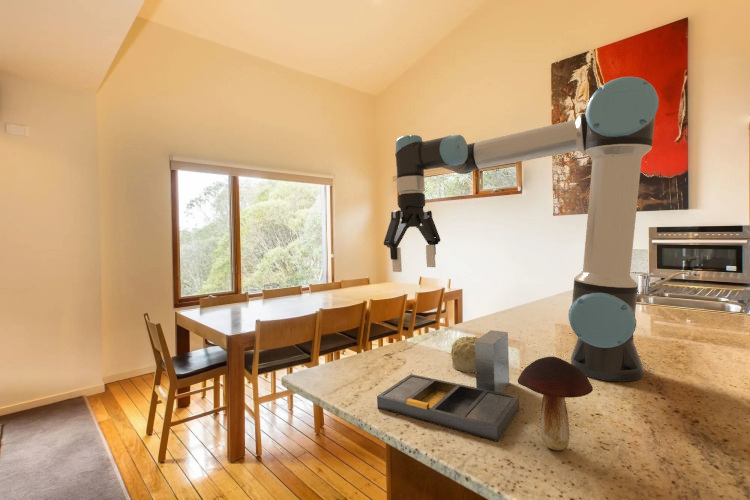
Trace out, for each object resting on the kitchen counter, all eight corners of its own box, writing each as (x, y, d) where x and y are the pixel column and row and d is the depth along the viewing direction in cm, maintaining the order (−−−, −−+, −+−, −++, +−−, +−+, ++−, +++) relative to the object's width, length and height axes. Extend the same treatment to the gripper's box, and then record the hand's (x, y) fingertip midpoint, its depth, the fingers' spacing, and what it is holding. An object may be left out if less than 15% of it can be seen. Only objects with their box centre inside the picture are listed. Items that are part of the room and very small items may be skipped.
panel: (509, 382, 88) (507, 332, 88) (495, 399, 80) (493, 343, 79) (492, 379, 90) (490, 330, 90) (476, 395, 82) (474, 341, 81)
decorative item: (475, 387, 95) (498, 357, 94) (442, 364, 96) (465, 333, 95) (472, 374, 104) (494, 346, 103) (443, 352, 106) (464, 324, 104)
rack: (519, 408, 75) (518, 392, 75) (496, 442, 64) (496, 423, 63) (411, 384, 89) (410, 370, 89) (377, 408, 78) (376, 392, 78)
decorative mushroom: (508, 433, 66) (506, 349, 65) (568, 428, 67) (566, 345, 66) (541, 472, 55) (538, 372, 55) (611, 465, 56) (610, 366, 55)
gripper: (431, 196, 115) (434, 265, 116) (367, 193, 100) (372, 273, 100) (450, 193, 110) (453, 265, 110) (386, 189, 94) (391, 274, 94)
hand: (414, 269), depth 105 cm, fingers open, 13 cm apart
